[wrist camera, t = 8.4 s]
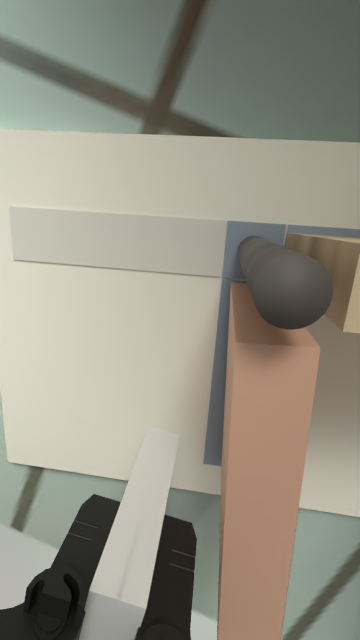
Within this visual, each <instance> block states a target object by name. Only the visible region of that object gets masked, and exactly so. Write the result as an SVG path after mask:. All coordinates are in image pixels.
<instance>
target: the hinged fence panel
mask: <svg viewBox="0 0 360 640" xmlns="http://www.w3.org/2000/svg"><path fill="white" fill-rule="evenodd" d="M320 348H321V347H320V346H319V345H318V343H317V342H316V341H315V339H314V338H313V337H312V336H311V334H310V333H309V332H308V330H307V329H306V328H305V327H304V328H301V329H294V330H286V329H281V328H277V327H275V326H273V325H271V324H269V323H268V322H267V321H265V320H264V319H263V318H262V317H261V315H260V314H259V312H258V311H257V309H256V306H255V303H254V300H253V298H252V295H251V292H250V289H249V286H248V283H231V291H230V310H229V329H228V348H227V367H226V386H225V406H224V425H223V444H222V463H221V495H220V539H219V582H218V625H217V640H281V635H282V627H283V620H284V612H285V605H286V598H287V590H288V583H289V576H290V568H291V561H292V554H293V546H294V539H295V532H296V524H297V517H298V510H299V502H300V495H301V488H302V480H303V473H304V466H305V458H306V451H307V444H308V436H309V429H310V422H311V414H312V407H313V400H314V392H315V385H316V378H317V370H318V363H319V356H320Z"/></svg>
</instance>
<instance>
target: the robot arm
mask: <svg viewBox="0 0 360 640" xmlns="http://www.w3.org/2000/svg"><path fill="white" fill-rule="evenodd" d="M179 436H180V435H179V434H176V433H173V432H169V431H166V430H163V429H159V428H156V427H153V426H148V429H147V431H146V434H145V437H144V440H143V442H142V445H141V448H140V451H139V454H138V456H137V459H136V462H135V465H134V467H133V470H132V473H131V476H130V478H129V481H128V484H127V487H126V490H125V492H124V495H123V498H122V501H121V502H118V501H115V500H112V499H108V498H105V497H102V496H99V495H95V494H94V495H92V496H91V497H90V498H89V499H88V500H87V501H86V502H84V503H83V504H82V506H81V508H80V510H79V512H78V514H77V516H76V518H75V520H74V522H73V524H72V526H71V528H70V530H69V532H68V534H67V536H66V538H65V540H64V542H63V544H62V546H61V548H60V550H59V552H58V554H57V556H56V558H55V560H54V562H53V564H52V566H51V568H49V569H46V570H44V571H43V572H41V573H40V574H38V575H37V576H35V578H34V579H33V580H32V582H31V583H30V584H29V586H28V587H27V590H26V596H25V602H24V603H22V604H20V605H18V606H15V607H13V608H9V609H3V610H0V640H191V638H190V623H191V609H192V596H193V582H194V568H195V555H196V541H197V539H196V535H195V532H194V529H193V526H192V523H190V522H187V521H183V520H180V519H177V518H174V517H170V516H167V515H164V514H165V509H166V504H167V498H168V493H169V488H170V483H171V478H172V472H173V467H174V462H175V457H176V452H177V446H178V441H179Z"/></svg>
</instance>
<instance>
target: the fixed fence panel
mask: <svg viewBox="0 0 360 640" xmlns="http://www.w3.org/2000/svg"><path fill="white" fill-rule="evenodd" d="M238 258H239V260H240V263H241V266H242V269H243V272H244V275H245V278H246V280H247V283H248V286H249V289H250V292H251V295H252V298H253V300H254V303H255V306H256V309H257V311H258V312H259V314H260V315H261V317H262V318H263V319H264V320H265V321H267V322H268V323H269V324H271V325H273V326H275V327H277V328H281V329H286V330H294V329H301V328H304V327H307V326H309V325H311V324H313V323H315V322H316V321H317V320H319V319H320V318H321V317H322V316H323V315H325V316H326V317H328V318H329V319H330V320H331V321H332V322H333V323H334V324H335V325H336V326H337V327H338V328H339V329H341V330H342V331H343V332H351V333H360V238H356V237H341V236H327V235H312V234H298V233H287V240H286V246H285V247H284V246H281V245H279V244H276V243H273V242H271V241H268V240H266V239H263V238H261V237H258V236H250V237H247V238H245V239H244V240H243V241H242V242H241V243H240V245H239V247H238Z"/></svg>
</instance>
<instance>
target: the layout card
mask: <svg viewBox="0 0 360 640" xmlns="http://www.w3.org/2000/svg"><path fill="white" fill-rule="evenodd" d="M287 233H298V234H312V235H327V236H341V237H356V238H360V142H335V141H308V140H282V139H256V138H229V137H203V136H177V135H150V134H124V133H98V132H71V131H45V130H19V129H0V390H1V400H2V410H3V420H4V430H5V439H6V449H7V459H8V462H12V463H19V464H25V465H31V466H38V467H44V468H51V469H57V470H63V471H70V472H76V473H82V474H89V475H95V476H101V477H108V478H114V479H120V480H127V481H129V478H130V476H131V473H132V470H133V467H134V465H135V462H136V459H137V456H138V454H139V451H140V448H141V445H142V442H143V440H144V437H145V434H146V431H147V429H148V426H153V427H156V428H159V429H163V430H166V431H169V432H173V433H176V434H179V435H180V436H179V441H178V446H177V452H176V457H175V462H174V467H173V472H172V478H171V483H170V487H171V488H177V489H184V490H190V491H196V492H203V493H209V494H215V495H221V463H222V444H223V425H224V406H225V386H226V367H227V348H228V329H229V310H230V291H231V283H247V280H246V278H245V275H244V272H243V269H242V266H241V263H240V260H239V258H238V247H239V245H240V243H241V242H242V241H243V240H244V239H245V238H247V237H250V236H258V237H261V238H263V239H266V240H268V241H271V242H273V243H276V244H279V245H281V246H284V247H285V246H286V240H287ZM305 328H306V329H307V330H308V332H309V333H310V334H311V336H312V337H313V338H314V339H315V341H316V342H317V343H318V345H319V346H320V347H321V348H320V356H319V363H318V370H317V378H316V385H315V392H314V400H313V407H312V414H311V422H310V429H309V436H308V444H307V451H306V458H305V466H304V473H303V480H302V488H301V495H300V502H299V508H304V509H310V510H317V511H323V512H330V513H336V514H342V515H349V516H355V517H360V333H351V332H343V331H342V330H341V329H339V328H338V327H337V326H336V325H335V324H334V323H333V322H332V321H331V320H330V319H329V318H328V317H326V316H325V315H323V316H322V317H321V318H320V319H319V320H317V321H316V322H315V323H313V324H311V325H309V326H307V327H305Z"/></svg>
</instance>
